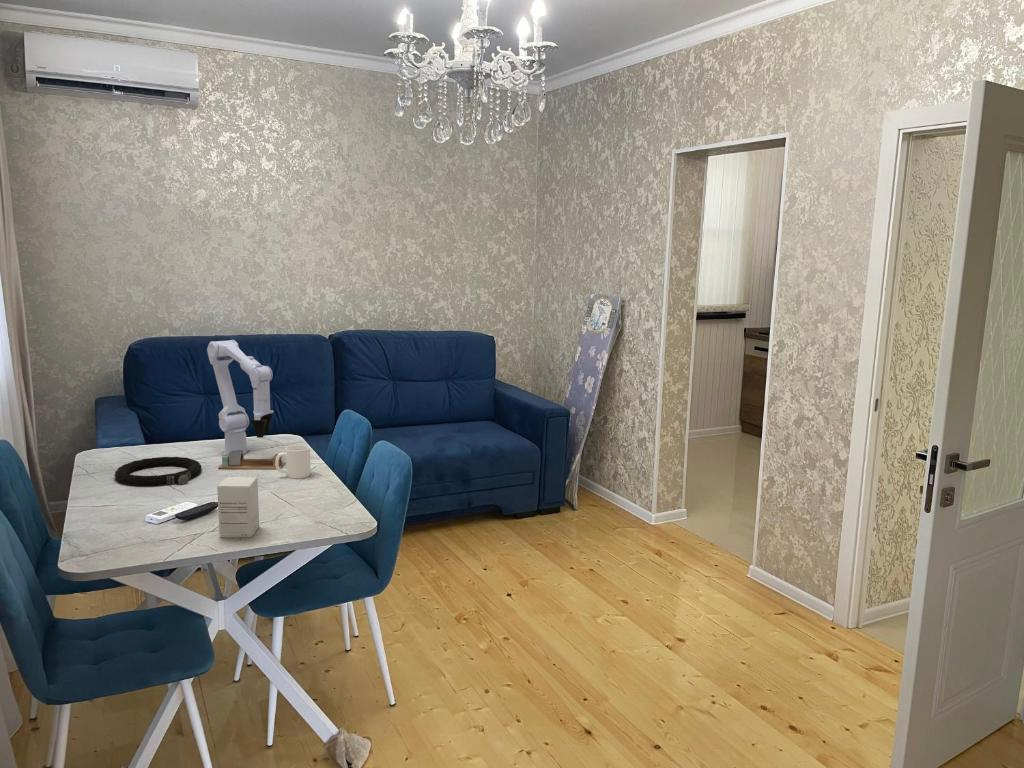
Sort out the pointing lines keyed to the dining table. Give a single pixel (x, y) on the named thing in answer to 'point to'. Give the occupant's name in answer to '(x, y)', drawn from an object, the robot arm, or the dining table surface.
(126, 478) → the cable lock
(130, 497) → the dining table surface
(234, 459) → the keeper
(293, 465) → the cup
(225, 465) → the rail
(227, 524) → the supplement box
